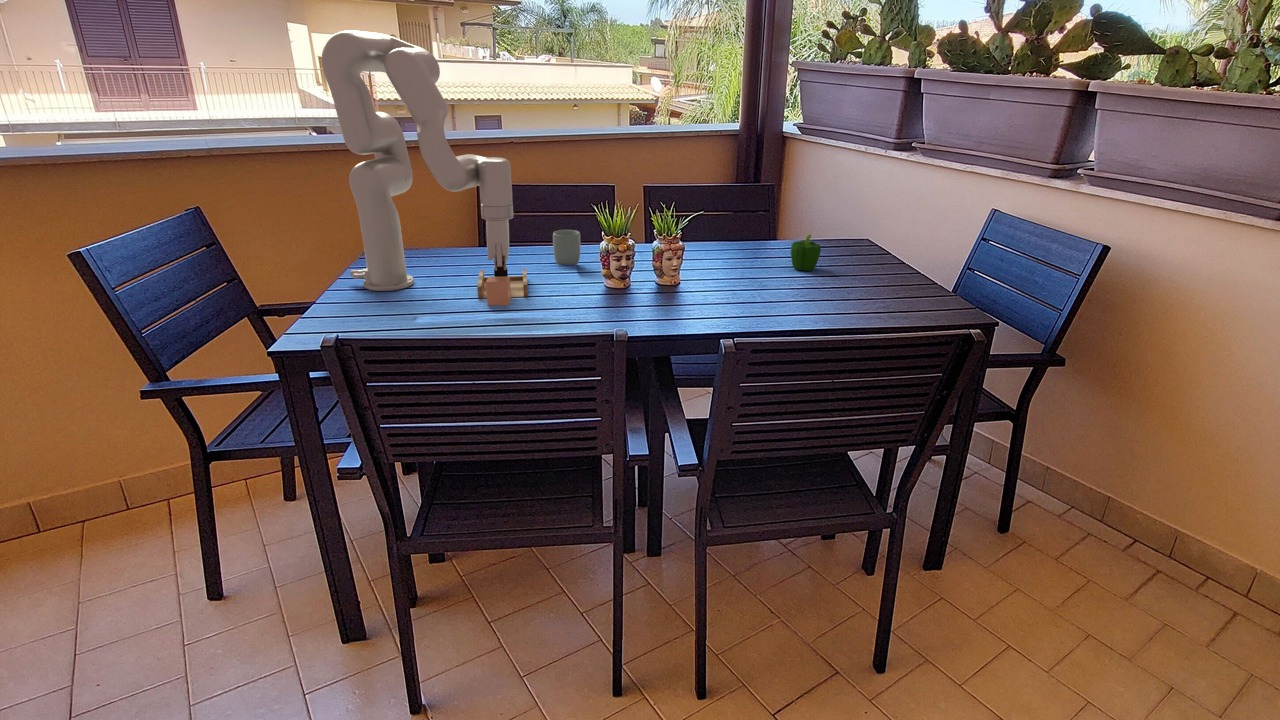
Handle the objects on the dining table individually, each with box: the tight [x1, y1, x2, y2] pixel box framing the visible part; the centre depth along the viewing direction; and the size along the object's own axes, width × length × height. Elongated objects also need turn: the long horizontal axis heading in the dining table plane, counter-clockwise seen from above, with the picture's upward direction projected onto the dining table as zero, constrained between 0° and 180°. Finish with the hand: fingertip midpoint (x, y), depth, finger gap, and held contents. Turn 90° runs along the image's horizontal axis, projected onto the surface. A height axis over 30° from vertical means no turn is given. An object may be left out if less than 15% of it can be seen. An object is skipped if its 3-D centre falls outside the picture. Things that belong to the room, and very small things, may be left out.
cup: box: [552, 229, 581, 267], centre depth 190 cm, size 8×8×10 cm
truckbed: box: [476, 268, 529, 299], centre depth 167 cm, size 15×12×4 cm
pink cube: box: [486, 275, 512, 306], centre depth 156 cm, size 5×5×6 cm
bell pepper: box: [790, 234, 821, 272], centre depth 192 cm, size 8×8×10 cm
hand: (501, 284), depth 165 cm, fingers closed
